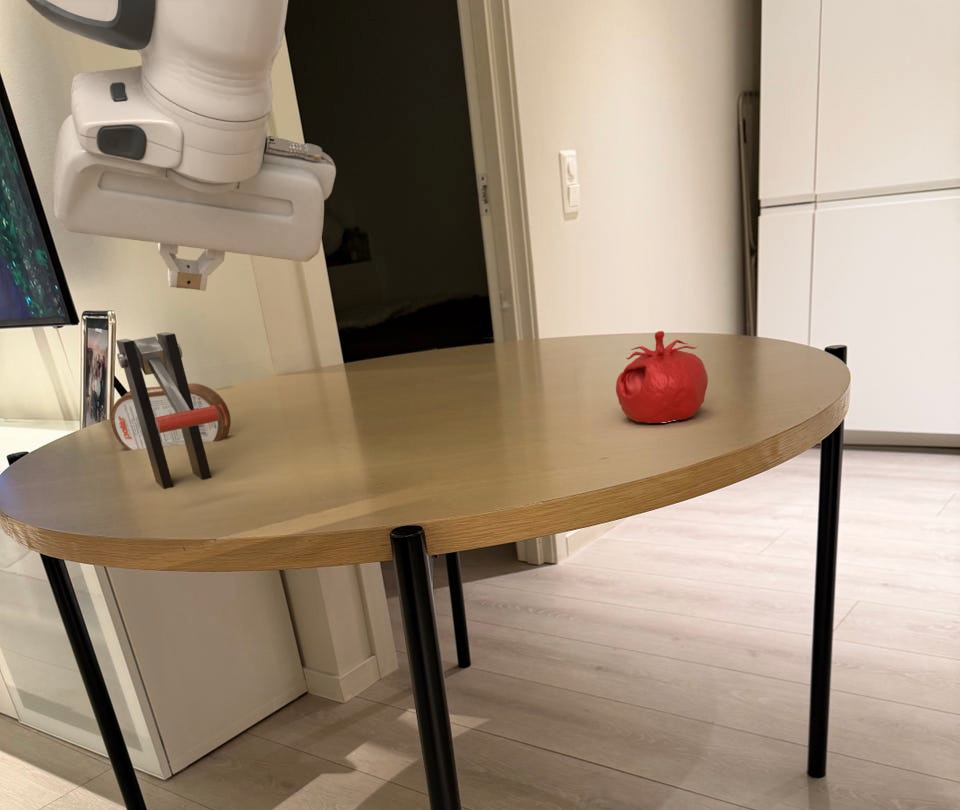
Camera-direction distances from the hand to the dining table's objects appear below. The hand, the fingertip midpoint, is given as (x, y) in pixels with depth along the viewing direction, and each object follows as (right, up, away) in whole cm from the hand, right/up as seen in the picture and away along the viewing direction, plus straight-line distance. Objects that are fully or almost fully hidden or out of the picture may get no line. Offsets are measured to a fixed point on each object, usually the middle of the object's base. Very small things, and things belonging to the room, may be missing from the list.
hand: (186, 284), depth 75 cm
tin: (-14, -6, +39) cm, 42 cm away
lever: (-5, -6, +11) cm, 14 cm away
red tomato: (+45, -6, +24) cm, 51 cm away
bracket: (-6, -14, +19) cm, 25 cm away
